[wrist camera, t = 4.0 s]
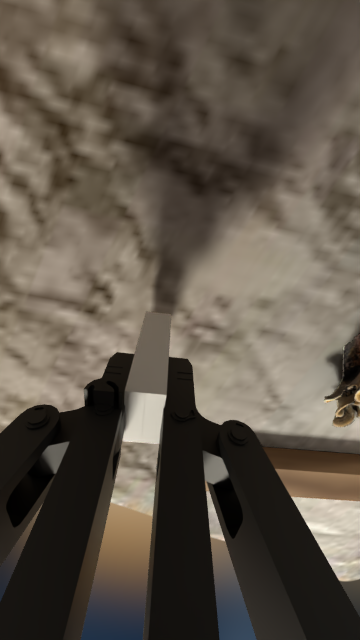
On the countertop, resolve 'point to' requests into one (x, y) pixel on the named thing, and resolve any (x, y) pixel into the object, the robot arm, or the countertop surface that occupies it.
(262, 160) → the countertop surface
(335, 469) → the beam plank
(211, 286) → the countertop surface
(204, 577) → the robot arm
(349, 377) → the mushroom
